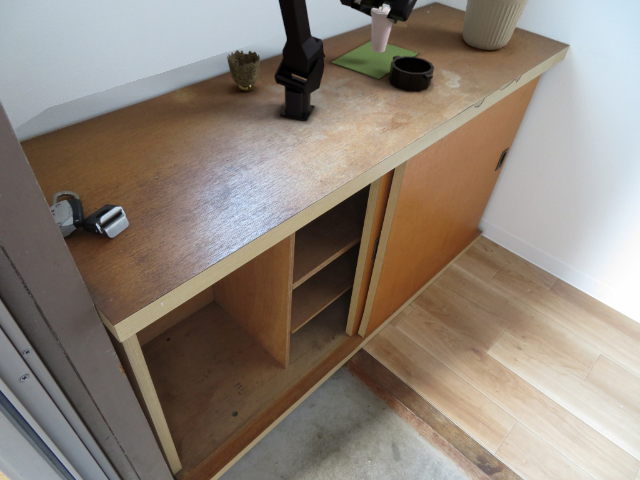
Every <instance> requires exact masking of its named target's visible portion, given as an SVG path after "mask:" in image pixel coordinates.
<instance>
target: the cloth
mask: <svg viewBox="0 0 640 480" xmlns="http://www.w3.org/2000/svg"><path fill="white" fill-rule="evenodd" d="M398 55H399V56H400V57H402V56H413V57H417V56H418V55H419V52H416V51H413V50H410V49H406V48H404V47H400V46H397V45H394V44H391V43H387V45H386V49H385V51H384V52H374V51H372V50H371V40H369V41H367V42H365V43H364V44H362V45H360V46H359V47H356V48H355V49H353V50H351V51H349V52H347V53H346V54H343V55H342V56H340V57H338V58H336V59H335V60H334V59H333V61H331V64H333V65H336V66H338V67H342V68H345V69H347V70H349V71H354V72H356V73H359V74H362V75H365V76H368V77H371V78H374V79H377V80H381V79H383V78H385V76H387V75H389V73H390V67H391V62H392V61H393V56H398Z"/></svg>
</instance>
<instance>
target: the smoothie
mask: <svg viewBox="0 0 640 480" xmlns="http://www.w3.org/2000/svg"><path fill="white" fill-rule="evenodd" d="M390 9H391V8H390V7H387V6H385V4H383V5H382V7H379V9H377V8H372V9H371V15H372V17H371V28H370V29H371V31H370V32H371V33H370V34H371V36H370V39H371V40H370V41H371V50H372V51H374V52H384V51H385V49H386V45H387V44H388V41H389V37H390V34H391V31H392V27H393V24H394V23H393V22H391V21H390V20H389V19H387V18H386V17H387V15H388V13H389V11H390Z"/></svg>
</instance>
